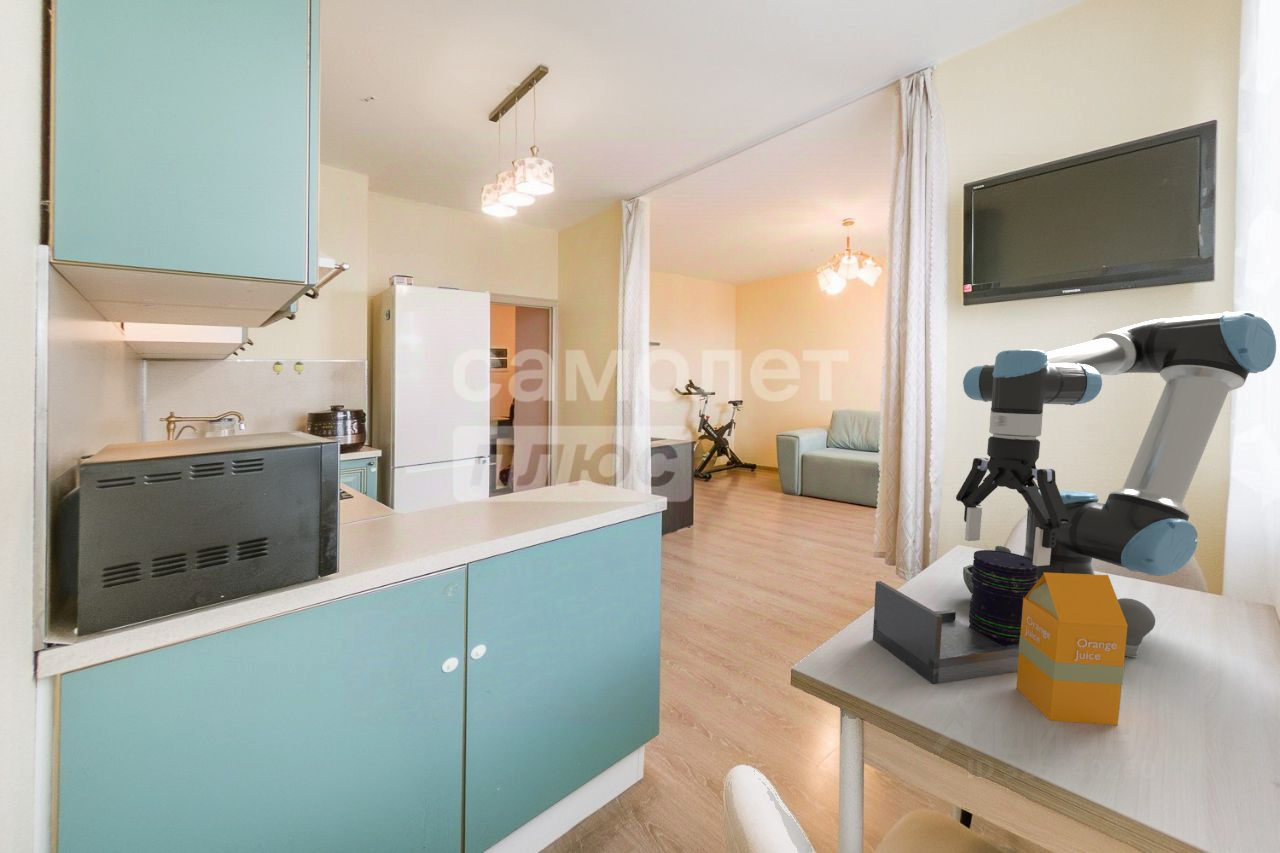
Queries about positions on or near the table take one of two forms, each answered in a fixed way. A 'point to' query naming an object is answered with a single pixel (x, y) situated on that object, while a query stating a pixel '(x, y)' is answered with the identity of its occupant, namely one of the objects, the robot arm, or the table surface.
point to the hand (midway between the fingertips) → (1004, 551)
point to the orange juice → (1073, 648)
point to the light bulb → (1136, 623)
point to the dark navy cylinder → (1000, 594)
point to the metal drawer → (936, 640)
